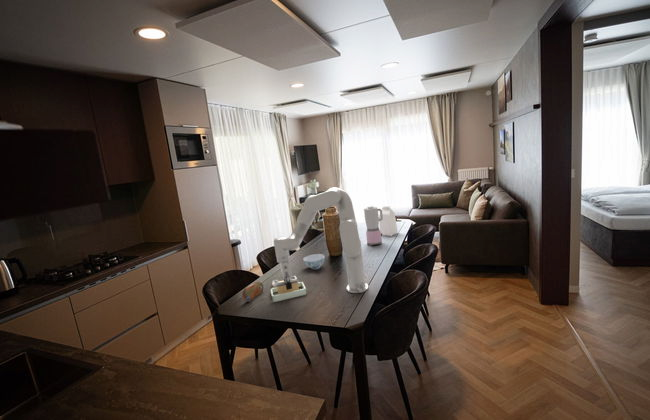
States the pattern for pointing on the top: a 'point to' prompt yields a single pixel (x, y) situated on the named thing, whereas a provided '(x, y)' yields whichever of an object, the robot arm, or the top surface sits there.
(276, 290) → the tray
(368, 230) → the blender
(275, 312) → the top surface
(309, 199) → the robot arm
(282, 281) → the clip holder
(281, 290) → the tan rectangular block
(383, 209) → the milk
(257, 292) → the orange plastic package
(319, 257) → the chinaware
